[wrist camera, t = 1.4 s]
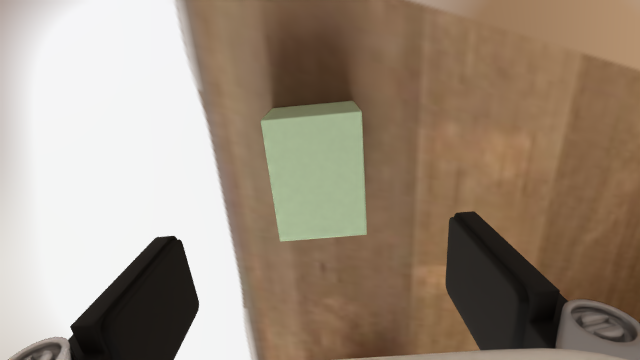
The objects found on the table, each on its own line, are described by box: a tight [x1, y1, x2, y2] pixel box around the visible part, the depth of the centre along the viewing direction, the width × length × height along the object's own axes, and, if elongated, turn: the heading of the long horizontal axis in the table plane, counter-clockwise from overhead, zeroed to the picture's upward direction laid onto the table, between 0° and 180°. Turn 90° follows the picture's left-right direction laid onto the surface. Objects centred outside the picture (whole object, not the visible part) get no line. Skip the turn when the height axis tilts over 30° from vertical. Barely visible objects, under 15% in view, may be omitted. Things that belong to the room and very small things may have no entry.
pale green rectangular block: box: [261, 101, 367, 241], centre depth 18 cm, size 7×5×4 cm
